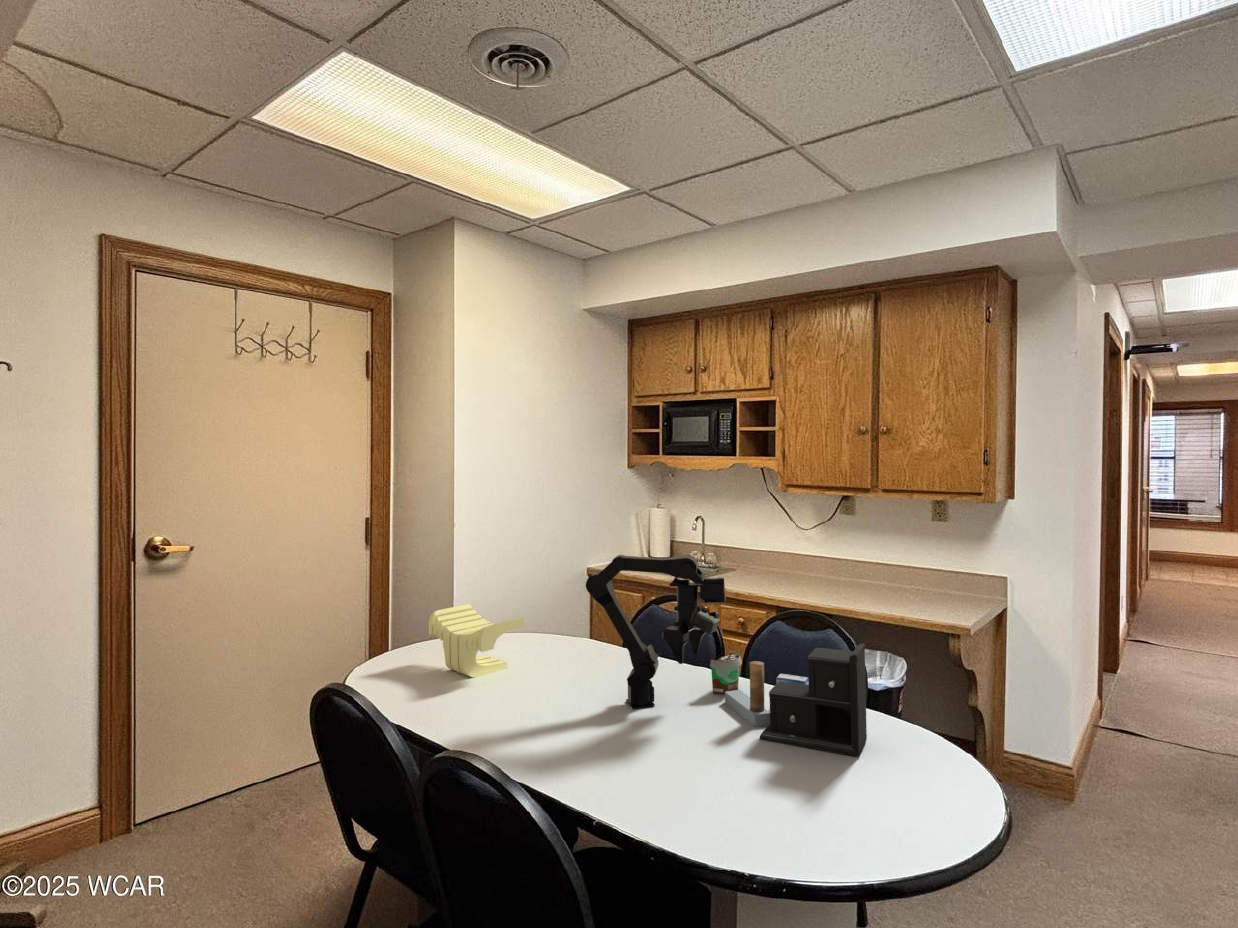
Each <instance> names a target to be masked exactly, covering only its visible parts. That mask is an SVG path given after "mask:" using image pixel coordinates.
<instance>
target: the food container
mask: <svg viewBox="0 0 1238 928" xmlns="http://www.w3.org/2000/svg"><path fill="white" fill-rule="evenodd" d="M740 655H741V654H739V653H738V652H736V651H734V650H729V653H728V654H727V655H723V656H720V657H719V658H718V659H716V660H715V659H710V664H709V668H711V670H710V671H711V682H712V683H711V684H712V685H711V687H712V694H713V695H719V696H720V695H721V696H722V695H723V696H725V692H726V691H735V690H739V680H740V667H741V665H742V664H743V661H742V658H741V656H740Z"/></svg>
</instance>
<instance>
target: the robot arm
mask: <svg viewBox="0 0 1238 928" xmlns="http://www.w3.org/2000/svg"><path fill="white" fill-rule="evenodd" d="M622 571H623V572H624V571H626V572H637V573H638V572H641V573H657V574H658V573H659V574H665V575H669V576H671V577H674V578H673V579H672V581H670V583H669V586H670V587H676V605H675V606H674V607H673V609H674V611H675V612H676V618H677V620H675V621H674V623H673V624H674V625H670V626H668V627H666V628H665V629H664V630H663V631H662V635H661V636H662V640H664V641H665V642H667V644H668V646H669V648H670V649H671V651H672V653H673V656H674V658H675V659H676V662H677V664H679V665H684V664H683V662H684V657H685V656H684V655H685V647H686V644H688V642H689V643H690V646H691V647H690V648H691V650H692V654H693V655H694V656H698V655H699V651H700V649H701V644H702V640H703V638H704V636H705V634H708V635H711V634H712V633H715V632H716V631H717V628H718V626H719V625H720V624H721V619H720V613H719V612H718V611H715V610H713V611H711V612H710V613H709V612H704V611H703V607H702V605H701V604H700V605H699V599H700V600H702V601H703V602H704V603H706V604H725V603H726V598H727V597H726V596H727V595H726V594H727V593H726V592H727V591H726V585H725V577H706V575H705V574H704V573H703V571H702V570H701V569H700V568H699V563H698V559H696V558H695V556H693V555H691V554H684V555H683V554H682V555H676V556H675V555H674V556H669V557H652V556H651V557H648V556H633V555H631V556H630V555H624V554H619V555H617V556H615V557H614V558H613V559H612V561H611V562H609V564H607V565H606V567H605V568H603V569H602V570H598V571H596V572H594V573H593V574H592V575H590V576H589V577H588V578H587V580H586V582H585V588H586V591H587V592H588V594H589V595H590V596H591V598H593V600H595V601H596V602H597V603H598V604H599V605H600V606H601V607H602V608H603V609H604V612H606V615H607V617H608V618H609V620H610V621H611V623H612V626H614V628H615V630H616V631H617V634H618V635H619V637H620V639H621V640H622V643H624V646H625V647H626V649H627V651H628V654H629V657H630V663H631V665H632V669H631V670H630V673H629V675H628V676H627V678H626V681H627V699H625V702H626V703H627V705H628V706H629V707H630V708H631V709H634V710H635V709H641V708H643V709H645V708H652V707H655V706H656V705H655V703H654V702H655V687H654V686H653V681H651V679H653V677H655V675H656V674H657V671H658V668H659V654H657V653H656V652H655V649H654V647H653V645H652V644H649V645H648V646H647V645H646V644H645V643H644V642H642V640H641V638H640V637H639V635H638V633H637V631H636V630H635V629H634V627H633V624H632V623H631V621H630V619H629V618H628V616H627V614H626V613H625V611H624V609H623V608H622V606H621V604H620V603H619V601H618V599H617V597H616V592H615V587H614V585H613V582H612V580H613V579H614V578H615V577H616V576H617V575H618V574H619V573H621V572H622ZM699 596H700V597H699Z"/></svg>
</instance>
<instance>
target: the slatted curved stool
mask: <svg viewBox="0 0 1238 928" xmlns="http://www.w3.org/2000/svg"><path fill="white" fill-rule="evenodd" d="M524 624H525V622H524V617H520V618H516V619H510V620H506V621H502V622H499V623H492V622H490V621H489V620H487V619H485V618H483V616H481V615H480V614H478V612H477V611H476V609H474V608H473V606H472V604H470V603H467V604H462V605H457V606H453V607H452V606H451V607H447V608H442V609H438V610H435V611H433V613H431V615H430V616H429V619H428V635H435V636H437V638H439V640H440V641H442V648H443V654H444V660H445V661H444V662H445V666H446V668H447V669H449V670H452V671H455V672H457V673H460V674H462V675H465V676H468V677H471V678H479V677H481V676H483V677H484V676H485V675H489V674H493V673H495V672H496V671H497V672H499V670H500V671H504V670H506V668H507V669H509V666H508V663H507V661H505V660H504V659H503V660H502V659H499V658H496V657H494V656H493V657H492V656H490V655H487V654H485V655H482V656H477V654H478V652H479V651H480V652H481V653H484V652H488V651H490V650H491V651H492V650H494V648H495V644H496V642H497V640H498V639H499V638H500V637H501V636H502V635H503V634H505V633H508V632H510V631H514V630H516V629H519V628H523V627H524V626H525V625H524ZM503 669H504V670H503ZM497 672H496V673H497Z"/></svg>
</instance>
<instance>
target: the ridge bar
mask: <svg viewBox="0 0 1238 928" xmlns="http://www.w3.org/2000/svg"><path fill="white" fill-rule="evenodd" d="M724 702H725V704H726V705H727V706H729V707H730V708H731V709H732V710H734V711H735V712H737V713H738V714H739V715H740V716H741V717H742V718H744V719H745V720H746V721H747V722H749V724H751V725H752V726H753V727H755V728H756V727H762V726H768V725H769V723H770V710H768V709H767V708H765V707H764V711H763V712H753V711H751V710H750V695H748V694H747V693H745V692H744V691H742V690H741V689H738V690H735V691H726V692H725V695H724Z"/></svg>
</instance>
